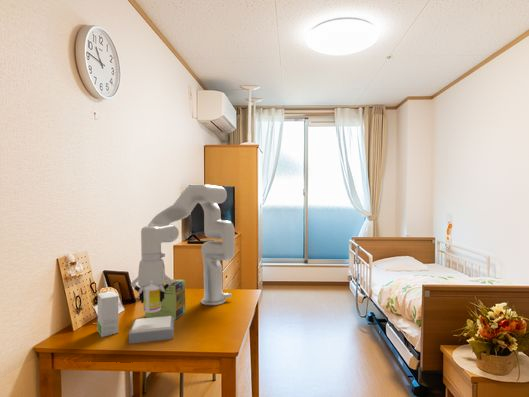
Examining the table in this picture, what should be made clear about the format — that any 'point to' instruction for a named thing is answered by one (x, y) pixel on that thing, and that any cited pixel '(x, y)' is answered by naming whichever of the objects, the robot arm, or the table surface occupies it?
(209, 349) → the table surface
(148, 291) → the supplement bottle
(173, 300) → the protein box
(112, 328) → the skincare box
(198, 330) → the table surface
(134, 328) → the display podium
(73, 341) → the table surface
